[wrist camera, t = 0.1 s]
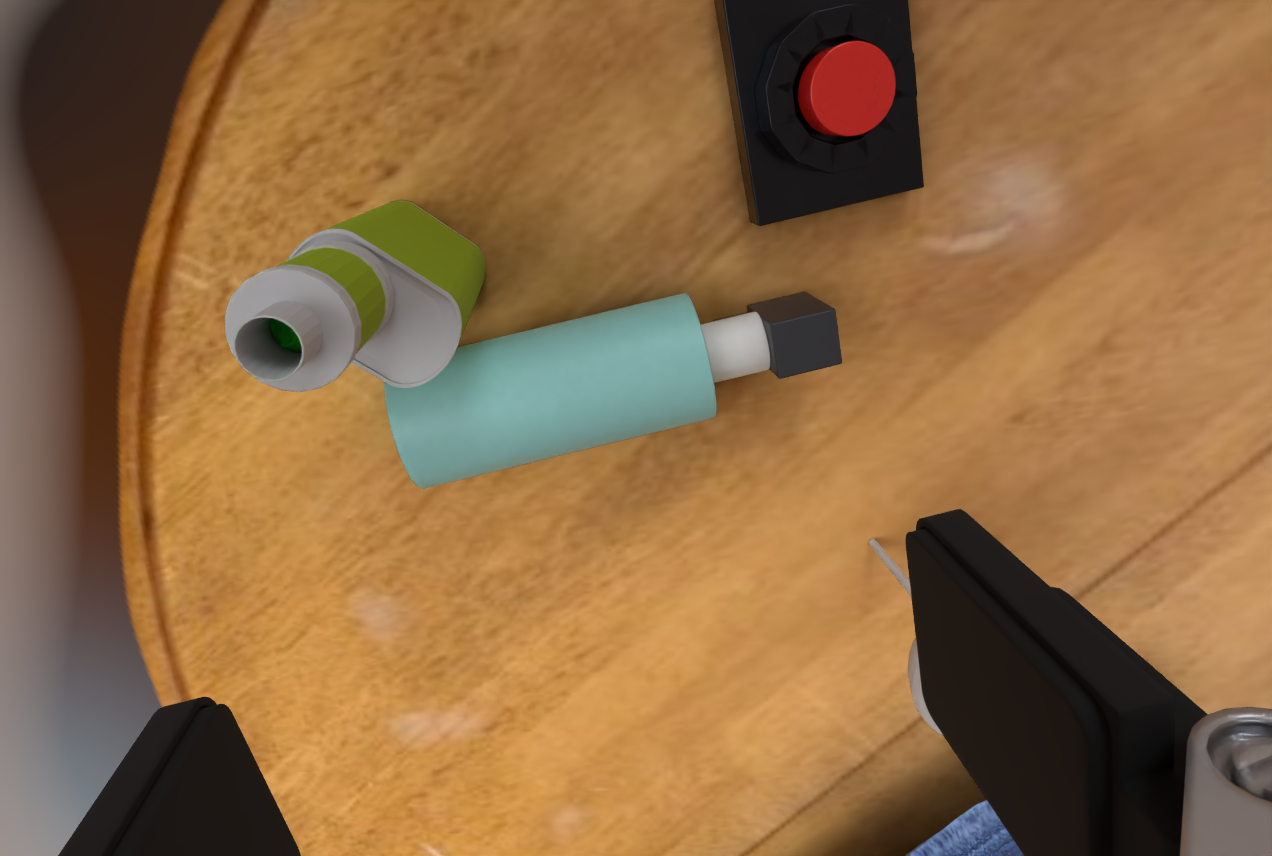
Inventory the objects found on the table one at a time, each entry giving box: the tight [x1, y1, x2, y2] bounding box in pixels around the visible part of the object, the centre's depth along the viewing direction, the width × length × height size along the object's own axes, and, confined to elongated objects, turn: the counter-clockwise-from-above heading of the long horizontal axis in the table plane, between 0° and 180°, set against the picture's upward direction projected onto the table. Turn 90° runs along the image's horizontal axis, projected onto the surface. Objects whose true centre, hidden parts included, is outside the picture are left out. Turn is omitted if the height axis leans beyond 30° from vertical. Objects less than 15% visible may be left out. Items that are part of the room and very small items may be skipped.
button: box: [798, 41, 896, 136], centre depth 34 cm, size 4×4×2 cm
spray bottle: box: [384, 292, 842, 489], centre depth 38 cm, size 6×6×20 cm
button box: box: [714, 0, 924, 226], centre depth 36 cm, size 10×8×4 cm
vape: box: [225, 200, 486, 392], centre depth 29 cm, size 4×6×20 cm, turn 55°
